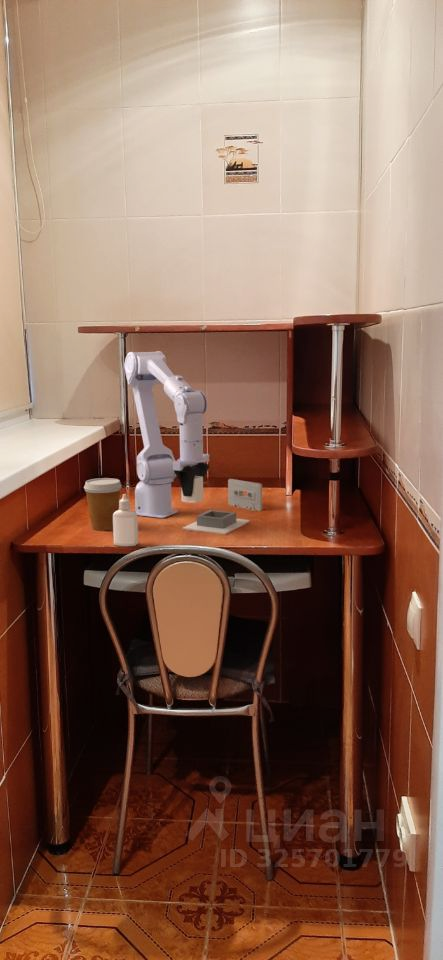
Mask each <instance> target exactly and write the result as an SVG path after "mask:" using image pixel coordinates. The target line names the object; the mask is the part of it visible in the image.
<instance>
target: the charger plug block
mask: <svg viewBox="0 0 443 960" xmlns="http://www.w3.org/2000/svg"><path fill="white" fill-rule="evenodd" d="M180 490H181V491H180V492H181V493H180V494H181V496H180V497H181V502H183V503H189V504H190V503H191V504H196V503H199V502H201V501H204V482H203V477H202V476H196V474H195V478H194V483H193V493H192V496H191V497H189V496H184V495H183V492H182V488H181V487H180Z"/></svg>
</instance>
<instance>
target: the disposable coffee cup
mask: <svg viewBox="0 0 443 960" xmlns="http://www.w3.org/2000/svg"><path fill="white" fill-rule="evenodd" d="M122 487H123V485H122V484H121V480H120V479H118V478H109V477H103V478H91V479H88V480H85V484H84V486H83V489H84V491H85V494H86V499H87V505H88V511H89V517H90V522H91V528H92V529H93V530H95V531H109V530H111V531H113V513H114V512H115V511H117V510H120V506H119V501H120V495H121V490H122V489H121V488H122Z"/></svg>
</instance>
